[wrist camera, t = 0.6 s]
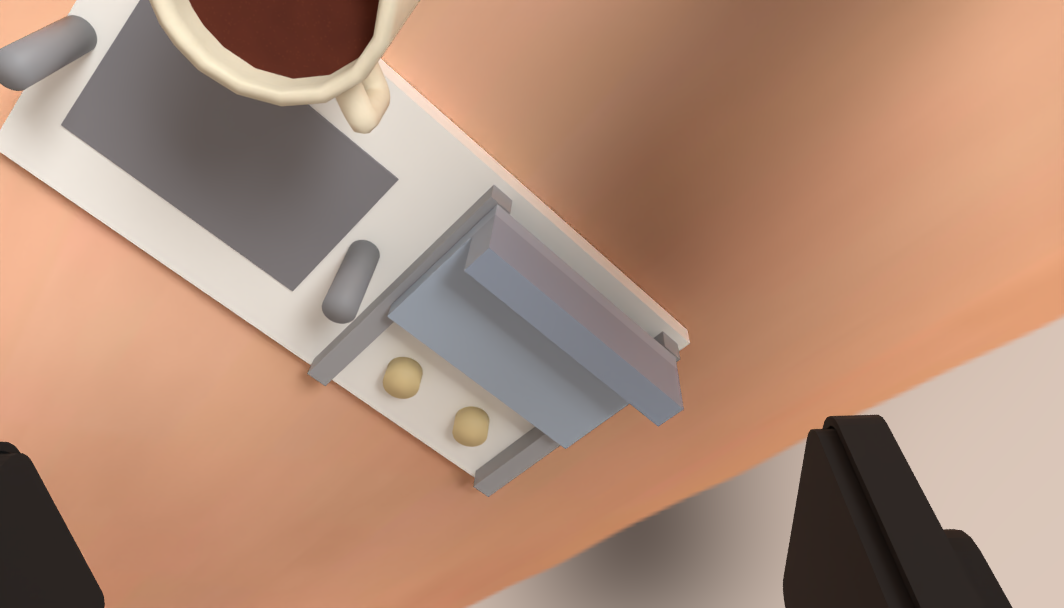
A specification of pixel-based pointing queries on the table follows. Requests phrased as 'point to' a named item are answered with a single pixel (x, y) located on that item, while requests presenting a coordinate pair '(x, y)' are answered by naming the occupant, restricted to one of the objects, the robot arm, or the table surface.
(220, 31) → the character mug
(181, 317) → the table surface
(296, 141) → the board
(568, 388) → the cover
